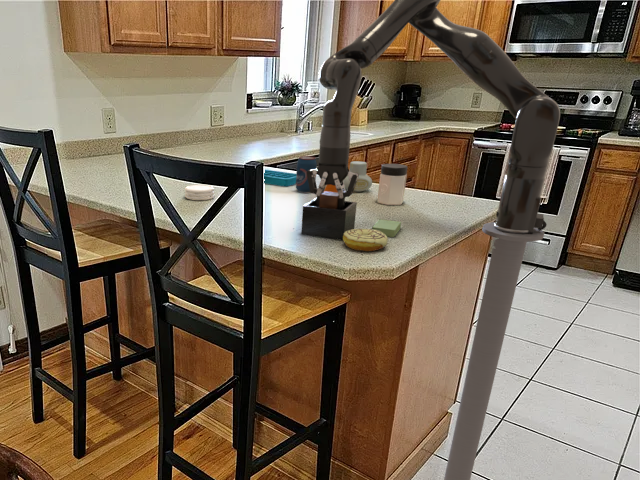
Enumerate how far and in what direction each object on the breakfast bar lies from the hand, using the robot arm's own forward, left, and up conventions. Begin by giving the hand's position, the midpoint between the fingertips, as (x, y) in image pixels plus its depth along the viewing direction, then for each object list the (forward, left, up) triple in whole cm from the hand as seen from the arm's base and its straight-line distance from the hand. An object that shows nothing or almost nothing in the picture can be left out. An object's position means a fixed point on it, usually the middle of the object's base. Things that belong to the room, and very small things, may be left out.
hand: (329, 210), depth 140 cm
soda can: (+23, -46, -6) cm, 52 cm away
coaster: (+52, -20, -6) cm, 56 cm away
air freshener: (+7, -56, -6) cm, 57 cm away
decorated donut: (-12, +8, -6) cm, 16 cm away
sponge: (-14, -8, -6) cm, 17 cm away
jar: (-8, -43, -6) cm, 44 cm away
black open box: (0, 0, -6) cm, 6 cm away
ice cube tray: (+40, -57, -6) cm, 70 cm away
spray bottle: (+11, -35, -6) cm, 37 cm away
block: (0, 0, 0) cm, 0 cm away
